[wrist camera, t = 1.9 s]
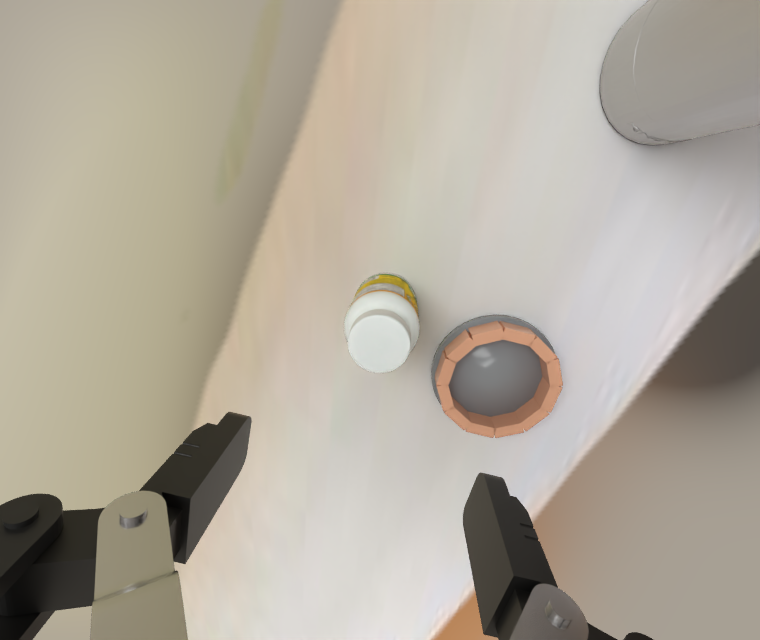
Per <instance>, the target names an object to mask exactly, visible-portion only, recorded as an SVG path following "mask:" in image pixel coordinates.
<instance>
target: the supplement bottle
mask: <svg viewBox="0 0 760 640" xmlns="http://www.w3.org/2000/svg"><path fill="white" fill-rule="evenodd" d="M419 331H420V325H419V316H418V308H417V301H416V296H415V293H414V291H413V289H412V288H411V286H410V285H409V283H408V282H407V281H406V280H405V279H403V278H402V277H400V276H398V275H395V274H391V273H380V274H376V275H373V276H371V277H369V278H368V279H366V280H365V281H364V282H363V283H362V284H361V285H360V287H359V289H358V290H357V292H356V294H355V297H354V299H353V301H352V303H351V305H350V307H349V309H348V311H347V314H346V317H345V321H344V333H345V337H346V340H347V342H348V349H349V353H350V355H351V357H352V359H353V360H354V361H355V362H356V363H357V364H358V365H359V366H360V367H361V368H363V369H365V370H367V371H370V372H374V373H386V372H390V371H393V370H395V369H397V368H399V367H400V366H401V365H402V364H403V363H404V362H405V361H406V359H407V357H408V355H409V353H410V352H411V351H412V349H413V348H414V346H415V345H416V343H417V340H418V337H419Z"/></svg>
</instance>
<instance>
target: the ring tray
mask: <svg viewBox="0 0 760 640" xmlns="http://www.w3.org/2000/svg"><path fill="white" fill-rule="evenodd" d="M431 373H432V383H433V388H434V392H435V394H436V397H437V399H438V401H439V402H440V404H441V405H442V408H443V411H444V413H445V414H446V415H447V416H448V417H449V418H451V419H452V420H453V421H454V422H455V423H456V424H457V425H458V426H460V427H461V428H462V429H463V430H466V432H470V433H474V434H478V435H483V436H487V437H491V438H493V437H494V436H495V438H498V437H503V436H508V435H513V434H518V433H523V432H524V431H523V429H524V430H525V431H527V430H529V429H530V428H531V427H533V426H534V425H536V424H537V423H538V422H540V421H541V420H542V419H544V418H545V417H546V416H548V415H549V413H548V412H551V411H552V409H553V407H554V405H555V403H556V400H557V398H558V396H559V394H560V392H561V390H562V387H561V386H562V385H563V383H562V377H561V370H560V364H559V359H558V358H557V356H556V355H555V353H554V350H553V348H552V346H551V345H550V343H549V341H548V340H547V339H546V338H545V337H544V335H543V334H542V333H541V332H539V331H538V330H537V329H536V328H535V327H534V326H532V325H530V324H529V323H527V322H525V321H523V320H521V319H518V318H515V317H511V316H505V315H489V316H483V317H478V318H475V319H472V320H470V321H468V322H465V323H463V324H462V325H460V326H458V327H457V328H456V329H454V330H453V331H452V332H450V333H449V334H448V336H447V337H446V338H445V339H444V340H443V341H442V343H441V344H440V346H439V347H438V349H437V351H436V353H435V356H434V359H433V363H432V371H431Z"/></svg>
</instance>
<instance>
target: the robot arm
mask: <svg viewBox="0 0 760 640" xmlns="http://www.w3.org/2000/svg"><path fill="white" fill-rule="evenodd" d="M600 95H601V100H602V105H603V109H604V111H605V113H606V116H607V118H608V120H609V122H610V123H611V124H612V125H613V127H614V128H615V129H616V131H618V132H619V133H620V134H622V135H623V136H624V137H626V138H627V139H629V140H632V141H634V142H637V143H640V144H648V145H659V144H668V143H673V142H680V141H686V140H691V139H692V138H697V137H702V136H707V135H713V134H717V133H722V132H727V131H732V130H737V129H741V128H746V127H751V126H756V125H760V0H649V1H648V2H647V3H646V4H644V5H643V6H642V7H641V8H640V9H639V10H637V11H636V12H635V13H634V14H633V15H631V17H630V18H629V19H628V20H627V21H626V23H625V24H624V25H623V26H622V27H621V28H620V30H619V31H618V33H617V35H616V36H615V38H614V40H613V41H612V43H611V45H610V47H609V50H608V52H607V55H606V57H605V60H604V63H603V68H602V73H601V78H600ZM250 428H251V417H249V416H245V415H241V414H237V413H233V412H228V413H227V414H226V415H225V416H224V417H223V419H222V420H221V421H220V422H219V423H218V425H214V424H210V423H207V424H205V425H203V426H201V427H200V428H198V429H196V430H194V431H193V432H192V433H191V434H190V435H189V436H188V437H187V438H186V439H185V441H184V442H183V444H182V445H180V446H179V447H178V448H177V449H176V451H175V452H174V454H172V455H171V456H170V457H169V458H168V460H166V462H165V463H164V464H163V465H162V466H161V467H160V468H159V469H158V471H157V472H156V473H155V474H154V475H153V476H152V477H151V478H150V479H149V480H148V482H147V483H146V484H145V485H144V486H143V487H142V488H141V489H140V490H139V491H136V492H131V493H128V494H125V495H123V496H121V497H119V498H117V499H115V500H114V501H112V502H111V503H110V504H109V505H107V506H106V508H100V509H87V510H69V511H63V510H62V509H63V508H62V503H61V501H60V500H59V499H58V498H57V497H55V496H53V495H49V494H33V495H32V494H31V495H27V496H22V497H19V498H16V499H13V500H11V501H8V502H6V503H4V504H2V505H0V640H33V638H34V637H35V636H36V634H37V633H38V632H39V630H40V629H41V628H42V627H43V625H44V624H45V623H46V621H47V620H48V619H49V618H50V616H51V615H52V614H53V613H54V611H55V610H63V609H71V608H78V607H86V606H92V614H91V632H90V640H188V637H187V629H186V622H185V615H184V607H183V600H182V593H181V585H180V579H179V574H178V571H175V568H174V562H178V563H183V564H186V562H187V560H188V559H189V557H190V555H191V554H192V552H193V550H194V549H195V547H196V545H197V544H198V542H199V540H200V539H201V537H202V535H203V534H204V532H205V530H206V528H207V527H208V525H209V523H210V522H211V520H212V518H213V517H214V515H215V513H216V512H217V510H218V508H219V507H220V505H221V503H222V502H223V500H224V498H225V497H226V495H227V493H228V492H229V490H230V488H231V487H232V485H233V483H234V482H235V480H236V478H237V476H238V475H239V473H240V471H241V469H242V467H243V465H244V462H245V459H246V455H247V449H248V442H249V435H250ZM463 527H464V532H465V537H466V543H467V548H468V553H469V559H470V564H471V569H472V575H473V580H474V586H475V591H476V596H477V601H478V607H479V612H480V618H481V623H482V628H483V634H484V635H489V636H493V637H497V638H498V639H499V640H617V639H615V638H613V637H612V636H610V635H608V634H606V633H604V632H602V631H601V630H599V629H597V628H595V627H594V626H592V625H590V624H589V623H587V621H586V619H585V616H584V614H583V613H582V611H581V610H580V608H579V606H578V605H577V604H576V603H575V602H574V601H573V599H571V597H570V596H568V595H567V594H566V593H565V592H563V591H562V590H560V589H558V586H557V584H556V581H555V579H554V576H553V574H552V572H551V569H550V566H549V564H548V561H547V559H546V557H545V554H544V551H543V549H542V547H541V544H540V542H539V541H538V537H537V534H536V532H535V529H533V524H532V522H531V519H530V517H529V514H528V512H527V510H526V509H525V508H524V506H523V505H522V504H521V503H520V501H519V500H518V499H517V497H513V496H510V495H509V492H508V489H507V486H506V484H505V481H504V479H503V478H501V477H497V476H493V475H489V474H485V473H479V474H478V476H477V478H476V480H475V483H474V485H473V488H472V490H471V493H470V495H469V497H468V500H467V502H466V505H465V508H464V513H463ZM624 640H653V639H652V638H650V637H648V636H646V635H643V634H641V633H636V632H634V633H633V632H632V633H629V634H628V635H626V637H625V638H624Z"/></svg>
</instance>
